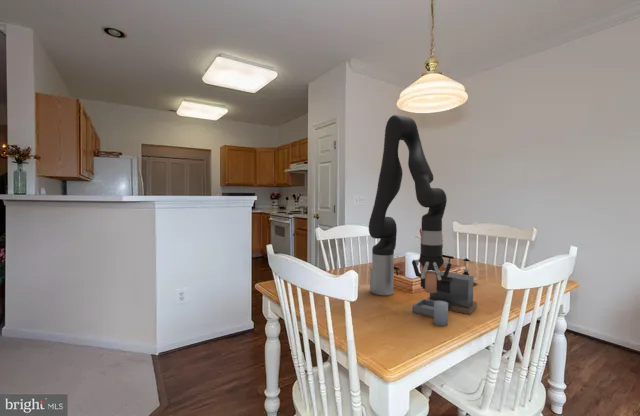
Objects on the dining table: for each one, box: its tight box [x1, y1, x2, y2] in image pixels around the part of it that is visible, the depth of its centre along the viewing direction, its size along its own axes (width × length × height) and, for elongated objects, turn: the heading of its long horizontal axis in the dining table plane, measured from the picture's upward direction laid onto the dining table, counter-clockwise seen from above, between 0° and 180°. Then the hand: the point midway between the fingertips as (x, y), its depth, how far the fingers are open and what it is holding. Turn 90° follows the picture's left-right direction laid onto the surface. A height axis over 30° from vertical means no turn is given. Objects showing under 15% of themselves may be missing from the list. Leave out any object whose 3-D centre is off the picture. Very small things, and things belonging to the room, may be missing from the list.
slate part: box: [433, 300, 449, 327], centre depth 103 cm, size 4×4×7 cm
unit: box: [426, 270, 478, 316], centre depth 119 cm, size 16×10×12 cm, turn 50°
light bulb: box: [462, 258, 478, 284], centre depth 149 cm, size 12×10×10 cm
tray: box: [411, 298, 434, 318], centre depth 113 cm, size 10×10×2 cm
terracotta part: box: [424, 270, 437, 294], centre depth 113 cm, size 4×4×7 cm
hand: (430, 288), depth 113 cm, fingers closed on terracotta part, 4 cm apart
